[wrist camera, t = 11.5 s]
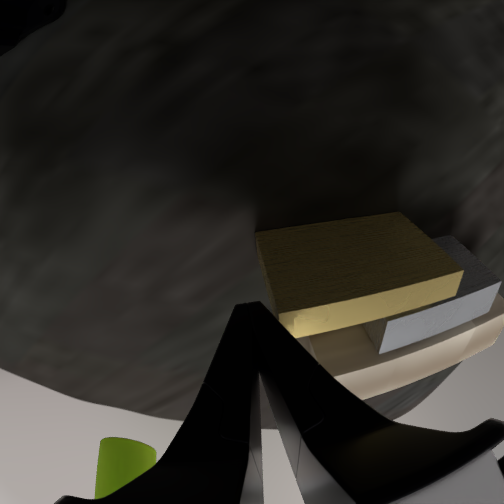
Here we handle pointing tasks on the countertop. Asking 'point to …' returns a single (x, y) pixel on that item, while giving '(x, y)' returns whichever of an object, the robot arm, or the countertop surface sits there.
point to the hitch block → (400, 353)
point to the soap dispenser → (121, 463)
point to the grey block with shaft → (440, 304)
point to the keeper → (352, 271)
